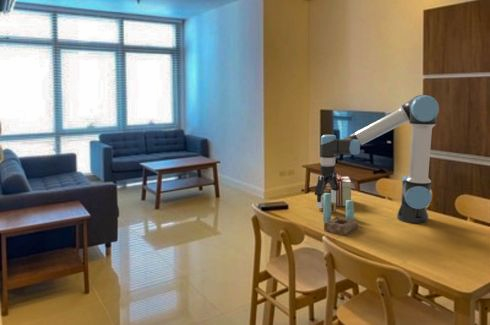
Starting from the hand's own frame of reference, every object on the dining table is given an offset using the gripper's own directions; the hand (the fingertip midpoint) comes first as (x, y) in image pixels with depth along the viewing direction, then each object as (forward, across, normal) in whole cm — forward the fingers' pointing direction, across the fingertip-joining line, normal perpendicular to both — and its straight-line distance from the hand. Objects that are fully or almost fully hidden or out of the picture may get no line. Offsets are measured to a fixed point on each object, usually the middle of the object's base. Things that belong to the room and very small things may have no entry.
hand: (326, 205), depth 218 cm
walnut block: (+9, +7, +12) cm, 17 cm away
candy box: (+9, -17, -10) cm, 22 cm away
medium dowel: (+9, -11, +7) cm, 16 cm away
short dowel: (+9, -4, +11) cm, 15 cm away
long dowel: (+9, 0, 0) cm, 9 cm away
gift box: (+9, -34, -14) cm, 38 cm away
